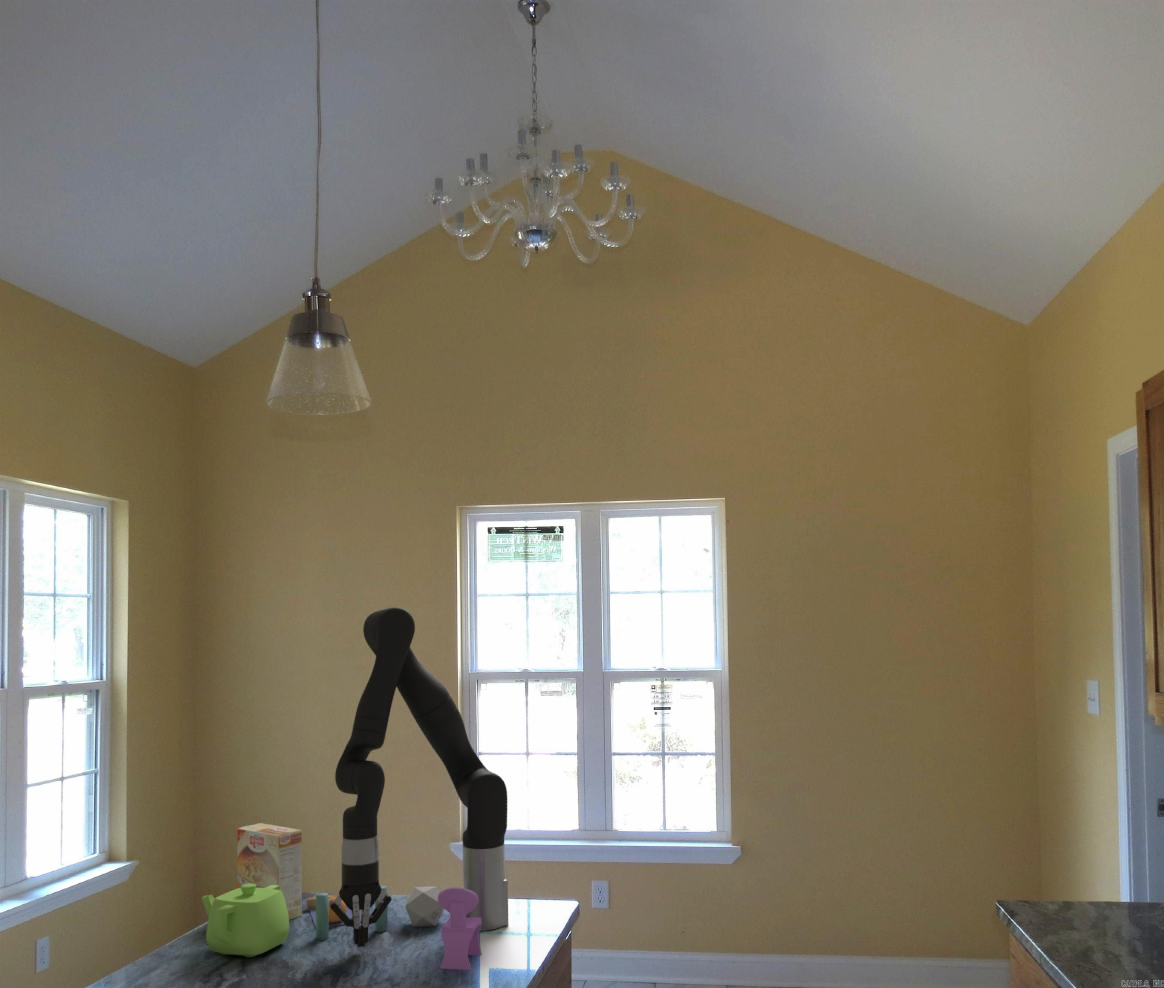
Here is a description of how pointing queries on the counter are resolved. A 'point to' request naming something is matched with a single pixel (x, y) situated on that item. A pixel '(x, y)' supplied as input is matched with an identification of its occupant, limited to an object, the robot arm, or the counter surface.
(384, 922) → the post
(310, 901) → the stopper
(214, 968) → the counter surface
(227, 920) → the teapot
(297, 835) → the coffeecake box
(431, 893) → the die
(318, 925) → the post
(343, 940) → the counter surface
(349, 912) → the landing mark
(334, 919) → the ball
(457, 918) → the toy chair
